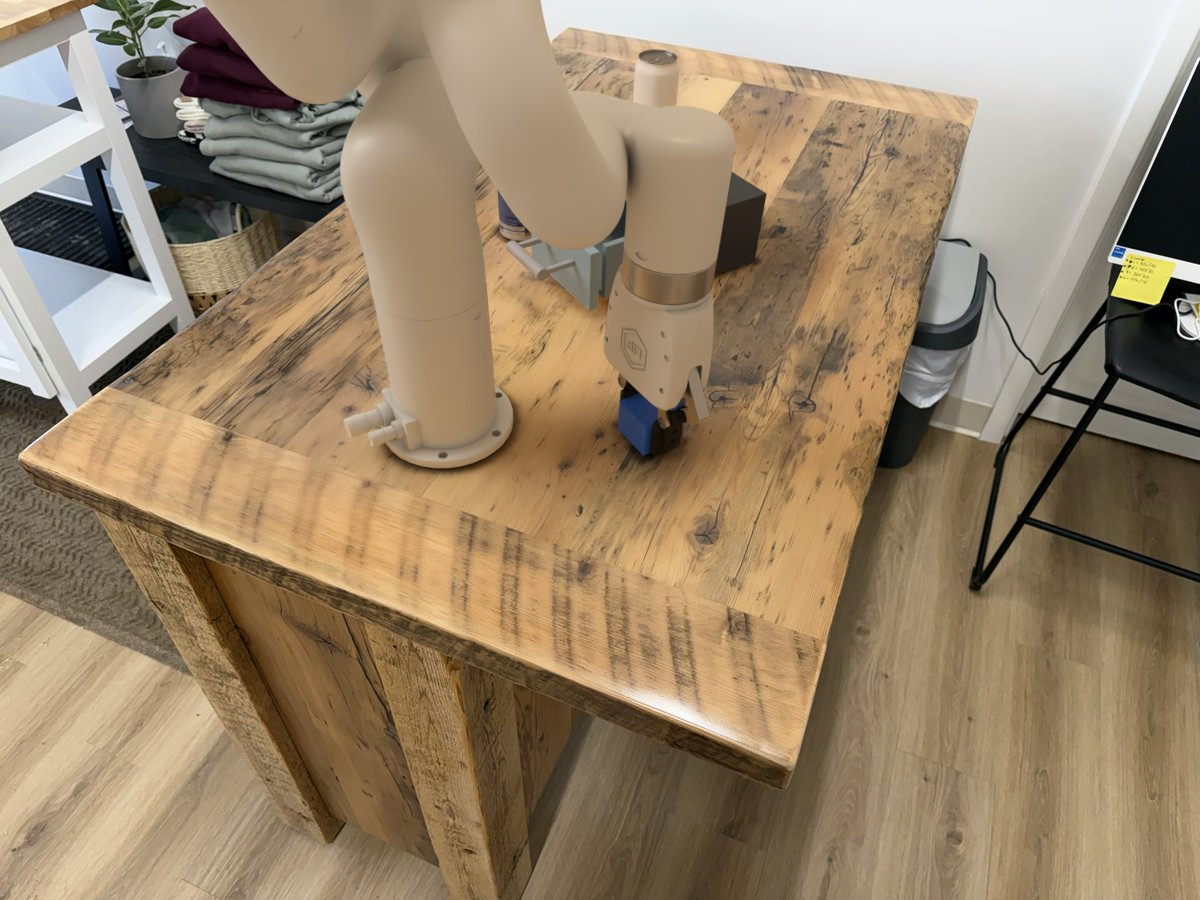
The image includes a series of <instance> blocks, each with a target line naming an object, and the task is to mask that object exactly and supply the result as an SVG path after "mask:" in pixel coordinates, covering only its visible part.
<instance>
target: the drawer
mask: <svg viewBox="0 0 1200 900" xmlns="http://www.w3.org/2000/svg"><path fill="white" fill-rule="evenodd" d="M626 210H627V203H626V202H625V204H624V209H623V212H622V215H621V218H620V220H619V222H618V224H617V225H616V227H615V228H614V229H613V231H612V232H611V233H610V234H609V235H608V236H607V237H606V238H605V239H604V240H603V241H601V242H599V243H598V244H596V245H594V246H592V247H589V248H585V249H580V250H564V249H560V248H556V247H553V246H551V245H549V244H547V243H545V242H543V241H541V240H540V239H538V238H537V237H536V236H534V235H533V234H532V233H531V239H528V240H525V241H519V242H518V241H516V240H511V239H510V240H509V241H508V242H507V243H506V246H505V249H506V251H507V252H508V253H510V255H511V256H513V258H515V260H517V261H518V262H519V263H520V264H521V265H522V266H523V267H524V268H525V269H526V270H527V271H528V272H529V273H531V274H532V275H533V276H534V277H535V278H537V280H538V281H545V280H546V279H547V277H548V275H549V276H550V277H551V278H553V279H554V281H556V282H557V283H558V285H560V286H561V287H562V288H563V289H564V290H565V291H567V292H568V293H569V294H570V295H571V296H572V297H574V299H575V300H577V301H578V302H579V303H580V305H582V306H583V307H584V308H585V309H587V311H588V312H591V311H594V310H596V309H599V296H600V297H601V298H602V299H603V300H607V299H610V295H611V290H612V286H613V283H614V279H615V276H616V274H617V271H618V268H619V267H620V265H621V264H623V251H624V236H625V223H626ZM529 247H531V254H530V252H528V251H527V250H526V249H525V248H529Z"/></svg>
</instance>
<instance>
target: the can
mask: <svg viewBox="0 0 1200 900" xmlns="http://www.w3.org/2000/svg"><path fill="white" fill-rule="evenodd" d="M678 57H679V56H678V55H677V54H676V53H675V52H673V51H670V50H666V49H660V48H656V49H655V48H651V49H645V50H642V51H641V52H639V53H638V59H637V61H636V63H635V65H634V66H635V67H634V77H633V93H632V96H633V97H632V102H635V103H639V104H643V105H647V106H652V107H657V108H662V107H667V106H677V101H678V92H679V79H680V66H679V62H678Z"/></svg>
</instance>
